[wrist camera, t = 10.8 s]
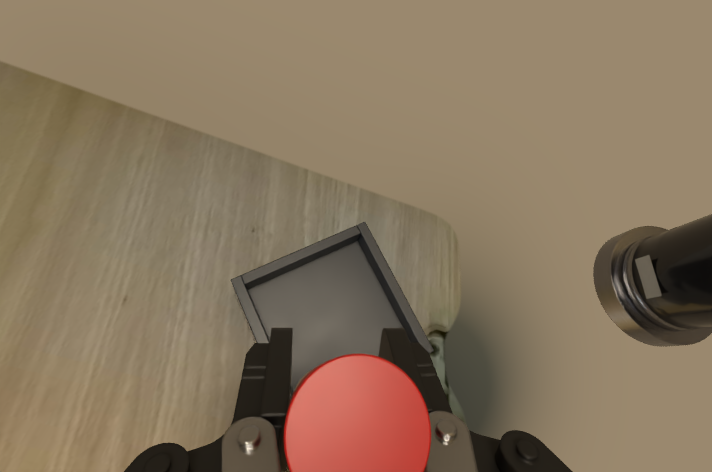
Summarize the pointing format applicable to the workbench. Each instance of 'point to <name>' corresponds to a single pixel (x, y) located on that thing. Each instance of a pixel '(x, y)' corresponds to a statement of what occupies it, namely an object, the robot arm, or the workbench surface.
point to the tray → (328, 300)
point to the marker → (357, 419)
